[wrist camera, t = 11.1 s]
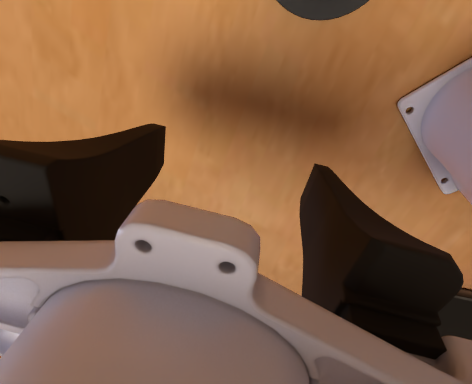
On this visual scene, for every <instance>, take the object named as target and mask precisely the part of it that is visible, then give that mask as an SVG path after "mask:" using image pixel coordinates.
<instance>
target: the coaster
mask: <svg viewBox="0 0 472 384" xmlns="http://www.w3.org/2000/svg"><path fill="white" fill-rule="evenodd" d="M277 1H278V2H279V3H280V4H281V5H282V6H283V7H284V8H286V9H287V10H288V11H290V12H291V13H293V14H295V15H297V16H300V17H302V18H306V19H311V20H330V19H334V18H338V17H341V16H344V15H346V14H349V13H351V12H353V11H355V10H356V9H358V8H360V7H361V6H362V5H364V4H365V3H367V2H368V1H369V0H277Z"/></svg>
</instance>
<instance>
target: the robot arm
mask: <svg viewBox="0 0 472 384" xmlns="http://www.w3.org/2000/svg"><path fill="white" fill-rule="evenodd" d="M397 106H398V109H399V111H400V113H401V115H402V116H403V118H404V120H405V122H406V124H407V126H408V128H409V130H410V132H411V134H412V136H413V138H414V140H415V142H416V143H417V145H418V147H419V149H420V151H421V153H422V155H423V157H424V159H425V161H426V163H427V165H428V167H429V169H430V171H431V172H432V174H433V176H434V178H435V180H436V182H437V184H438V186H439V188H440V190H441V191H442V192H443V193H444V194H450V193H453V192H456V191H458V190H459V191H460V192H461V193H462V194H463V195H464V196H465V198H466V199H467V200H468V201H469V202H470V203H471V204H472V58H470V59H468V60H466V61H465V62H463V63H461V64H460V65H458V66H456V67H454V68H453V69H451V70H449V71H448V72H446V73H444V74H442V75H441V76H439V77H437V78H436V79H434V80H432V81H430V82H429V83H427V84H425V85H423V86H422V87H420V88H418V89H417V90H415V91H413V92H411V93H410V94H408V95H406V96H405V97H403V98H401V99H400V100H399V102H398V105H397ZM409 107H412V109H411V111H410V112H407V113H406V109H407V108H409ZM165 129H166V127H165V126H161V125H157V124H147V125H143V126H139V127H136V128H132V129H129V130H125V131H122V132H118V133H113V134H109V135H105V136H101V137H95V138H89V139H82V140H72V141H58V142H23V141H8V140H0V356H2V357H1V359H0V384H472V340H468V339H464V338H460V337H456V336H443V337H441V336H440V333H439V331H438V329H437V327H439V326H440V325H441V320H440V318H439V316H438V312H439V311H440V310H441V309H442V308H443V307H444V306H445V305H446V304H448V303H449V302H450V301H451V300H452V299H453V298H454V297H455V296H456V295H457V293H458V292H459V291H460V290H461V288H462V285H463V274H462V273H461V271H460V269H459V268H458V266H457V264H456V263H455V261H454V260H453V258H452V256H451V255H450V254H449V253H447V252H444V251H442V250H440V249H438V248H436V247H433V246H431V245H429V244H427V243H425V242H423V241H421V240H419V239H417V238H415V237H413V236H411V235H409V234H408V233H406V232H404V231H402V230H401V229H399V228H397V227H396V226H394V225H393V224H391V223H390V222H388V221H387V220H385V219H384V218H382V217H381V216H379V215H378V214H377V213H375V212H374V211H373V210H372V209H370V208H369V207H368V206H367V205H365V204H364V203H363V202H362V201H361V200H360V199H359V198H358V197H357V196H356V195H355V194H354V193H353V192H352V191H351V190H350V189H349V188H348V187H347V186H346V185H345V184H344V183H343V182H342V181H341V180H340V179H339V177H338V176H337V175H336V174H335V173H334V172H333V171H332V170H331V169H330V168H329V167H327V166H323V165H319V164H314V167H313V169H312V172H311V174H310V177H309V179H308V182H307V184H306V186H305V189H304V191H303V194H302V196H301V201H300V226H301V236H302V246H303V284H302V296H300V295H298V294H296V293H295V292H293V291H291V290H289V289H287V288H285V287H283V286H281V285H280V284H278V283H276V282H274V281H272V280H270V279H268V278H267V277H265V276H263V275H261V274H259V273H258V265H259V256H260V237H259V235H258V234H257V233H256V231H255V230H254V229H253V227H252V226H251V225H249V224H247V223H245V222H243V221H241V220H239V219H237V218H234V217H230V216H226V215H222V214H218V213H214V212H210V211H206V210H202V209H198V208H194V207H190V206H186V205H182V204H178V203H174V202H170V201H166V200H151V199H147V200H145V201H143V202H142V203H140V204H138V205H137V203H138V202H139V201H140V199H141V198H142V197H143V195H144V194H145V193H146V191H147V190H148V189H149V187H150V186H151V185H152V183H153V182H154V181H155V179H156V178H157V176H158V174H159V172H160V170H161V168H162V166H163V164H164V149H165ZM443 178H446V179H445V180H444V181H441V180H442V179H443ZM133 208H134V209H133ZM436 326H437V327H436Z"/></svg>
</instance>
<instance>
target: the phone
mask: <svg viewBox="0 0 472 384" xmlns="http://www.w3.org/2000/svg"><path fill="white" fill-rule="evenodd" d="M438 316H439V318H440V320H441V325H440V326H439V327H437V326H436V327H437V329H438V331H439V333H440V336H441V337H443V336H456V337H460V338H464V339H468V340H472V291H470V290H465V289H461V290H460V291H459V292H458V293H457V295H456V296H455V297H454V298H453V299H452V300H451V301H450V302H449V303H448V304H446V305H445V306H444V307H443V308H442V309H441V310H440V311H439V312H438Z"/></svg>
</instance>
